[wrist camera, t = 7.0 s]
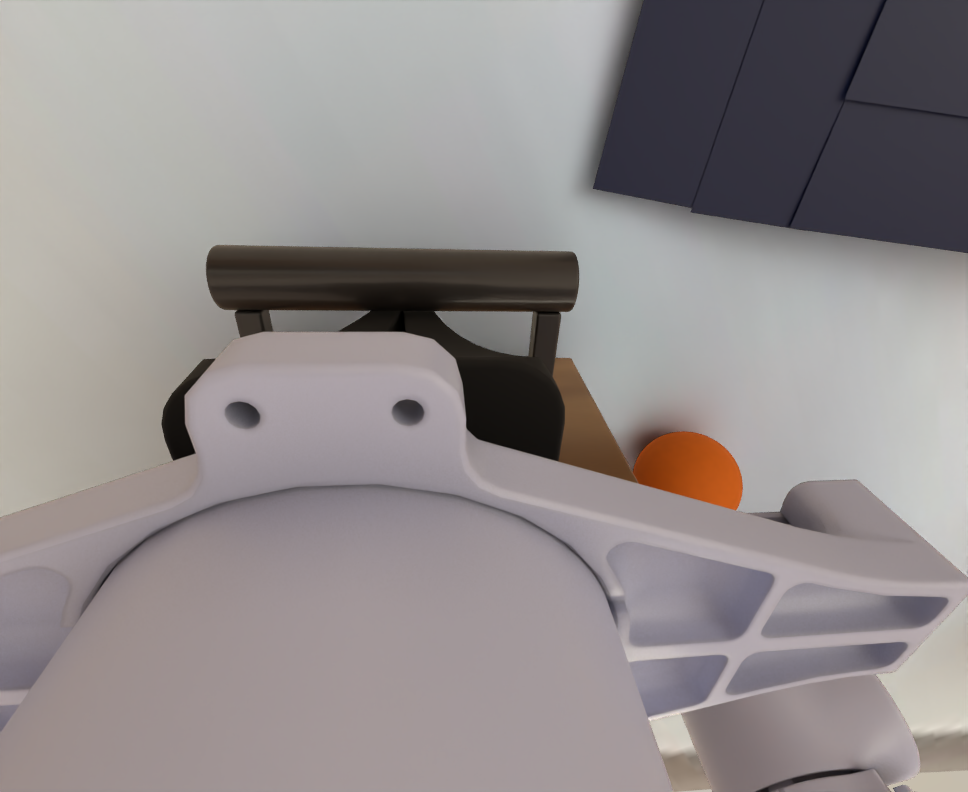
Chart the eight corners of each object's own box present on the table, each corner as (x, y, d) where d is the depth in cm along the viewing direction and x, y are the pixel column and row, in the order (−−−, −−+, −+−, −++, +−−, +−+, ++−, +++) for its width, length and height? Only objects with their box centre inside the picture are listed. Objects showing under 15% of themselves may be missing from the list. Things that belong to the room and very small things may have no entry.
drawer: (210, 206, 13) (41, 282, 8) (593, 217, 15) (697, 290, 9) (309, 600, 23) (268, 764, 17) (535, 588, 24) (566, 738, 18)
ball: (707, 400, 20) (766, 464, 16) (711, 470, 22) (764, 539, 19) (612, 429, 20) (649, 497, 17) (625, 494, 22) (661, 567, 19)
